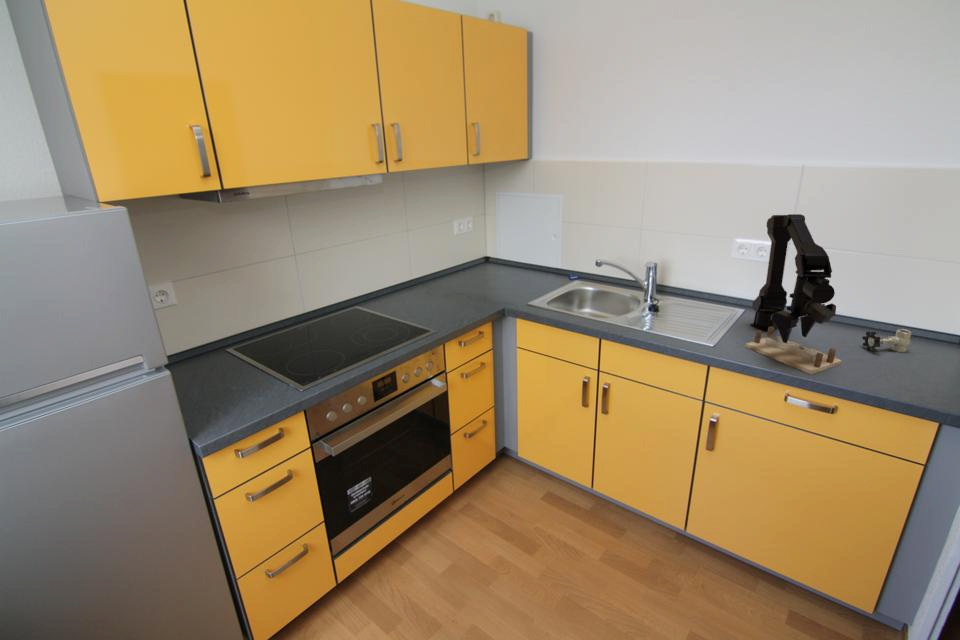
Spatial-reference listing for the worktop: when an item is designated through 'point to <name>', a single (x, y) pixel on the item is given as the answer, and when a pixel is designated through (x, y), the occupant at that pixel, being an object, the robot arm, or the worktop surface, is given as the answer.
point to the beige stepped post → (792, 348)
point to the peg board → (793, 355)
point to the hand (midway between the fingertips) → (794, 339)
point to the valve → (889, 340)
